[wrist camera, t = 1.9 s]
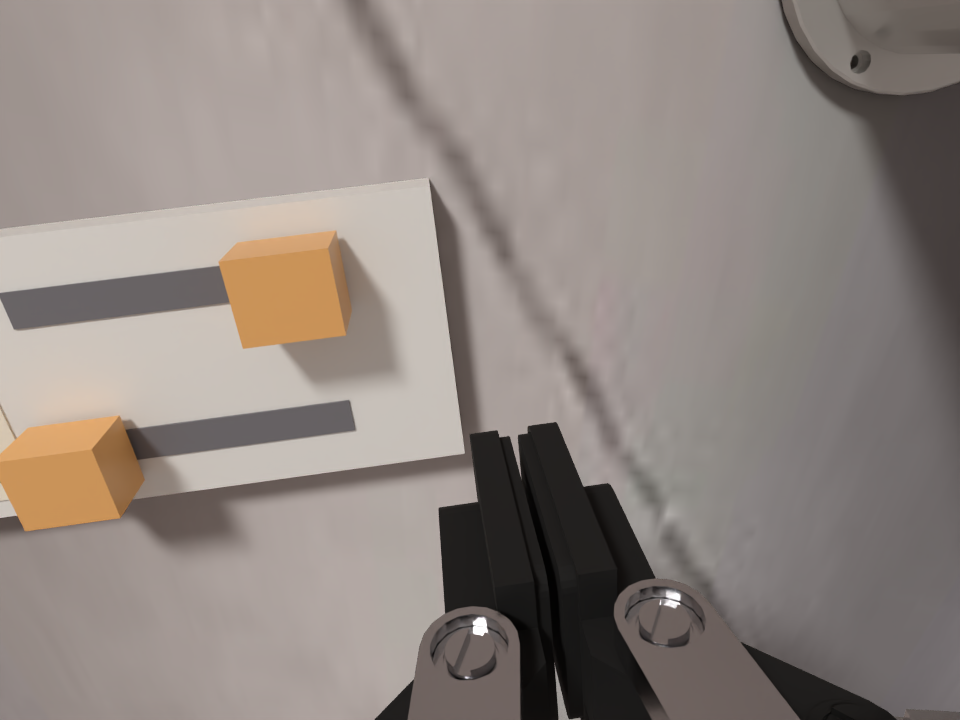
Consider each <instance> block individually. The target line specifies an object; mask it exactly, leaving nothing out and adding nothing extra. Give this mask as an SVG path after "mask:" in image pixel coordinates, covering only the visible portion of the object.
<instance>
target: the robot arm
mask: <svg viewBox="0 0 960 720" xmlns="http://www.w3.org/2000/svg"><path fill="white" fill-rule="evenodd" d="M782 4H783V9H784V13H785V15H786V18H787V20H788V22H789V25H790V27H791V29H792V31H793V34H794V36H795V38H796V40H797V42H798V43H799V44H800V46H801V47H802V48H803V50H804V51H805V53H806V54H807V55H808V57H809V58H810V60H811V61H812V62H813V63H814V64H816V65H817V66H818V67H819V68H820V69H821V70H823V71H824V72H825V73H826V74H827V75H828V76H830V77H831V78H833V79H835V80H837V81H839V82H841V83H843V84H845V85H847V86H849V87H851V88H853V89H857V90H862V91H866V92H871V93H875V94H890V95H910V94H919V93H927V92H932V91H935V90H938V89H941V88H944V87H948V86H951V85H954V84H957V83H959V82H960V0H782ZM851 60H852V63H851V65H850V62H851ZM470 443H471V451H472V459H473V467H474V474H475V482H476V490H477V498H478V502H475V503H468V504H461V505H454V506H447V507H440V508H439V525H440V540H441V556H442V571H443V586H444V602H445V614H444V615H442V616H441V617H440V618H438V619H437V620H436V621H434V622H433V623H432V624H431V625H430V627H429V628H428V629H427V631H426V632H425V633H424V635H423V638H422V641H421V643H420V646H419V652H418V658H417V664H416V670H415V677H414V680H413V681H412V682H411V683H410V684H409V685H408V686H407V687H406V688H405V689H404V690H403V691H402V692H401V693H400V694H399V695H398V696H397V697H396V698H395V699H394V700H393V701H392V702H391V703H390V704H389V705H388V706H387V707H386V708H385V709H384V710H383V711H382V712H381V714H380V715H379V716H378V717H377V718H376V719H375V720H558V706H557V692H556V679H555V667H556V671H557V675H558V679H559V683H560V687H561V691H562V695H563V700H564V704H565V708H566V712H567V715H568V718H569V719H574V718H581V720H960V712H949V711H932V710H915V709H906V711H905V714H904V717H893V716H892V715H891V714H890V713H889V712H888V711H886V710H884V709H882V708H881V707H879V706H877V705H875V704H874V703H872V702H870V701H868V700H866V699H864V698H862V697H860V696H858V695H855V694H853V693H851V692H849V691H847V690H844V689H842V688H840V687H838V686H836V685H833V684H831V683H829V682H827V681H825V680H823V679H820V678H818V677H816V676H814V675H812V674H809V673H807V672H805V671H803V670H801V669H798V668H796V667H794V666H792V665H790V664H788V663H785V662H783V661H781V660H779V659H777V658H774V657H772V656H770V655H768V654H766V653H764V652H761V651H759V650H757V649H755V648H753V647H750V646H748V645H746V644H744V643H742V642H740V641H739V640H738V638H737V637H736V636H735V635H734V633H733V632H732V631H731V629H730V628H729V627H728V626H727V624H726V623H725V622H724V620H723V619H722V618H721V617H720V615H719V614H718V613H717V611H716V610H715V609H714V607H713V606H712V605H711V604H710V602H709V601H708V600H707V599H706V598H705V597H704V596H703V595H701V594H700V593H699V592H698V591H696V590H695V589H693V588H691V587H689V586H688V585H686V584H683V583H680V582H676V581H673V580H668V579H656V578H655V576H654V574H653V572H652V570H651V568H650V565H649V563H648V561H647V559H646V557H645V555H644V553H643V551H642V549H641V547H640V545H639V542H638V540H637V538H636V536H635V534H634V532H633V530H632V528H631V526H630V524H629V522H628V519H627V517H626V515H625V513H624V511H623V509H622V507H621V505H620V503H619V501H618V499H617V497H616V494H615V492H614V490H613V489H612V487H611V485H610V484H608V483H607V484H600V485H593V486H586V487H583V485H582V482H581V480H580V478H579V475H578V473H577V470H576V468H575V465H574V463H573V461H572V458H571V456H570V453H569V451H568V448H567V446H566V444H565V441H564V439H563V436H562V434H561V431H560V429H559V426H558V424H557V423H556V422H553V423H546V424H539V425H532V426H528V434H522V435H518V444H519V455H520V466H521V477H520V473H519V469H518V465H517V462H516V458H515V454H514V451H513V447H512V443H511V439H510V437H509V436H507V437H500V438H499V434H498V431H497V430H496V431H489V432H482V433H475V434H470ZM521 478H522V480H521ZM554 662H555V665H554Z"/></svg>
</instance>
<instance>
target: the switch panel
mask: <svg viewBox="0 0 960 720" xmlns="http://www.w3.org/2000/svg"><path fill="white" fill-rule="evenodd" d="M335 230H336V232H337V237H338V242H339V247H340V252H341V257H342V262H343V267H344V272H345V277H346V282H347V287H348V292H349V297H350V302H351V308H352V313H351V317H350V321H349V325H348V330H347V334H346V336H339V337H331V338H323V339H315V340H308V341H300V342H292V343H285V344H277V345H269V346H261V347H254V348H246V349H243V347H242V344H241V340H240V337H239V333H238V330H237V326H236V323H235V319H234V316H233V312H232V309H231V305H230V302H229V298H228V294H227V291H226V287H225V284H224V280H223V277H222V273H221V270H220V266H219V263H218V262H219V261H220V260H221V258H222V257H223V256H224V255H225V254H226V253H227V252H228V251H229V250H230V249H231V248H232V247H233V246H234V245H235V244H236V243H237V242H245V241H253V240H261V239H269V238H277V237H286V236H294V235H302V234H310V233H318V232H327V231H335ZM119 415H120V417H121V420H122V422H123V425H124V428H125V430H126V433H127V435H128V438H129V440H130V443H131V445H132V448H133V450H134V453H135V456H136V458H137V461H138V463H139V466H140V468H141V471H142V473H143V476H144V479H145V481H144V482H143V484H142V485H141V487H140V489H139V490H138V492H137V493H136V495H135V496H134V498H133V499H141V498H148V497H155V496H162V495H170V494H177V493H184V492H191V491H198V490H206V489H213V488H220V487H227V486H235V485H242V484H249V483H256V482H263V481H271V480H278V479H285V478H292V477H300V476H307V475H314V474H321V473H328V472H336V471H343V470H350V469H357V468H365V467H372V466H379V465H386V464H394V463H401V462H408V461H415V460H422V459H430V458H437V457H444V456H451V455H459V454H465V450H464V443H463V435H462V428H461V420H460V412H459V405H458V397H457V390H456V382H455V374H454V367H453V359H452V352H451V344H450V336H449V329H448V321H447V314H446V306H445V298H444V291H443V283H442V276H441V268H440V260H439V253H438V245H437V238H436V230H435V222H434V215H433V207H432V200H431V192H430V184H429V178H422V179H414V180H405V181H397V182H389V183H380V184H372V185H363V186H355V187H347V188H338V189H330V190H322V191H313V192H305V193H296V194H288V195H280V196H271V197H263V198H255V199H246V200H238V201H230V202H221V203H213V204H204V205H196V206H188V207H179V208H171V209H163V210H154V211H146V212H137V213H129V214H121V215H112V216H104V217H96V218H87V219H79V220H70V221H62V222H54V223H45V224H37V225H29V226H20V227H12V228H3V229H0V454H1V453H2V452H3V451H4V450H5V449H6V448H7V447H8V446H9V445H10V444H11V443H12V442H13V441H14V440H15V439H17V438H18V437H19V436H20V435H21V434H22V433H23V432H24V431H25V430H26V429H27V428H29V427H36V426H44V425H51V424H59V423H66V422H74V421H81V420H89V419H96V418H104V417H111V416H119ZM133 499H132V500H133ZM11 516H17V514H16V512H15V510H14V508H13V506H12V504H11V502H10V500H9V498H8V496H7V494H6V492H5V490H4V488H3V486H2V484H1V482H0V518H3V517H11Z"/></svg>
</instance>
